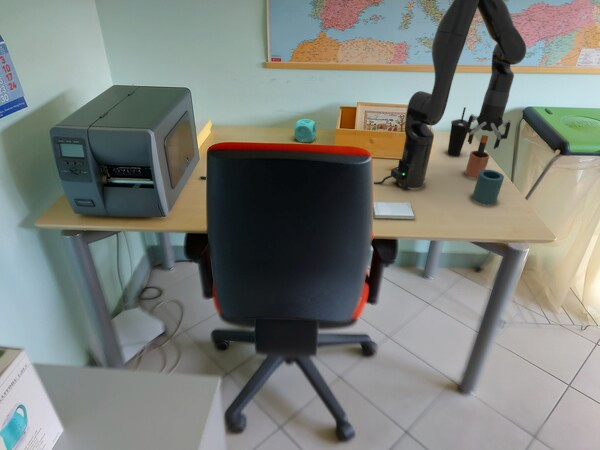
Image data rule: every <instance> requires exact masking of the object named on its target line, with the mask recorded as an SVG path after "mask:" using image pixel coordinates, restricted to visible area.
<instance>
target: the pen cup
mask: <svg viewBox="0 0 600 450" xmlns="http://www.w3.org/2000/svg"><path fill="white" fill-rule="evenodd" d="M477 151H478V150H472V151H470V154H469V157H468V160H467V164H466V168H465V171H464V173H465V175H466V176H467V177H470V178H474V179H478V176H479V172H480V171H482V170H487V166H488V163H489V159H490V154H489V153H487V152H486V151H484V153H483V157H482V158H481V157H477V156H476V155H477Z"/></svg>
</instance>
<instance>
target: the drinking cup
mask: <svg viewBox="0 0 600 450" xmlns="http://www.w3.org/2000/svg"><path fill="white" fill-rule="evenodd" d="M466 109H467V107H463V111H462V114H461V118H459V119H453V120H451V122H450V124H451V125H450V133H449V140H448V146H447V147H448V148H447V155H448V156H451V157H459V156H460V154H461V152H462V149H463V147H464V143H465V141H466V138H467V135H468V134H469V133H468V132H466V131H465V129H466V126H467V123H468V120H465V119H464V117H465V112H466Z"/></svg>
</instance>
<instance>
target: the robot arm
mask: <svg viewBox="0 0 600 450" xmlns="http://www.w3.org/2000/svg"><path fill="white" fill-rule="evenodd" d="M477 10H478V12H479V14H480V16H481V19H482V20H483V24H484V25H485V28H486V31H487V33H488V35H489V37H490V39H492V40H493V41H494V42H495V43H496V44H495V45H494V48H493V51H492V55H491V73H490V74H491V75H490V78H489V82H488V84H487V85H488V86H487V89H486V91H485V94H484V97H483V100H482V104H481V108H480V112H479V115H478V116H476V115H475V114H473V113H471V114H470V115H469V117H468V120H467V121H468V123H467V126H466V129H465V131H466V132H468V133H467V134H469V136H468V139H467V143H468V144H469V145H472V143H473V139H474V135H475V133H476V132H478V131H480V130H482V131H487V132H493V133H494V135H495V137H496V139H495V142H494V146H493V149H494V150H496V149H498V148H499V146H500V143H501V140H503V139H504V140H507V139H508V135H509V133H510V128H511V124H512V120H510V119H509V120H503V117H504V114H505V111H506V107H507V104H508V102H509V97H510V92H511V88H512V85H513V82H514V78H515V73H514V72H513V71H512V69H511V66H513V65H514V66H515V65H519V64H520V63H522V62H523V61H524V59H525V57H526V55H527V45H526V42H525V40H524V38H523V37H522V34H521V33H520V32H519V31H518V29H517V28H516V25H515V24H514V21H513V19H512V18H513V17H512V15H511V12H510V11H509V8H508V6H507V4H506V2H505V1H504V0H453V1H452V2H451V4H450V6H449V7H448V8H447V9H446V11H445V13H444V14H443V15H442V18H441V19H440V21H439V23H438V25H437V28H436V31H435V34H434V38H433V41H432V45H431V58H432V65H433V72H434V81H433V88H432V91H431V93H429V92H427V91H423V90H419V91H416V92H414V93H413V94H412V96H411V97H410V99H409V101H408V103H407V107H406V115H405V122H404V123H405V124H404V132H405V139H404V144H403V150H402V156H401V158H400V159H399V160H398V166H397V168H392V169H390V175H388V176H386V177H384V178H383V179H382V181H377V182H374V181H373V182H374V184H373V185H382V184H384V182H385V181H386V180H388V179H391V178H393V179H394V180H395V184H397V185H398V186H399V187H401V188H402V189H403V190H404V191H412V190H417V189H421V188H423V187H424V186H425V182H426V180H427V178H426V175H427V171H428V165H429V161H430V158H431V157H430V156H431V152H432V148H433V141H434V136H435V135H434V133H433V131H432V130H431V129H430V128H429V126H436V125H437V124H438V123H440V122H441V120H442V118H443V116H444V114H445V112H446V109H447V105H448V101H449V97H450V93H451V89H452V85H453V81H454V78H455V74H456V70H457V67H458V64H459V61H460V58H461V56H462V53H463V50H464V48H465V45H466V42H467V39H468V36H469V33H470V29H471V26H472V23H473V20H474V17H475V16H476V15H475V14H476V12H477ZM475 121H476V122H477V125H475V126H474V127H473V128H471V126H472V123H474V122H475ZM502 125H503V128H504V133H503V134H502V132H501V129H500V128H499V127H501V126H502ZM206 177H207V176H203V175H202V176H200V179H202V180H204V179H205V178H206Z"/></svg>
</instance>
